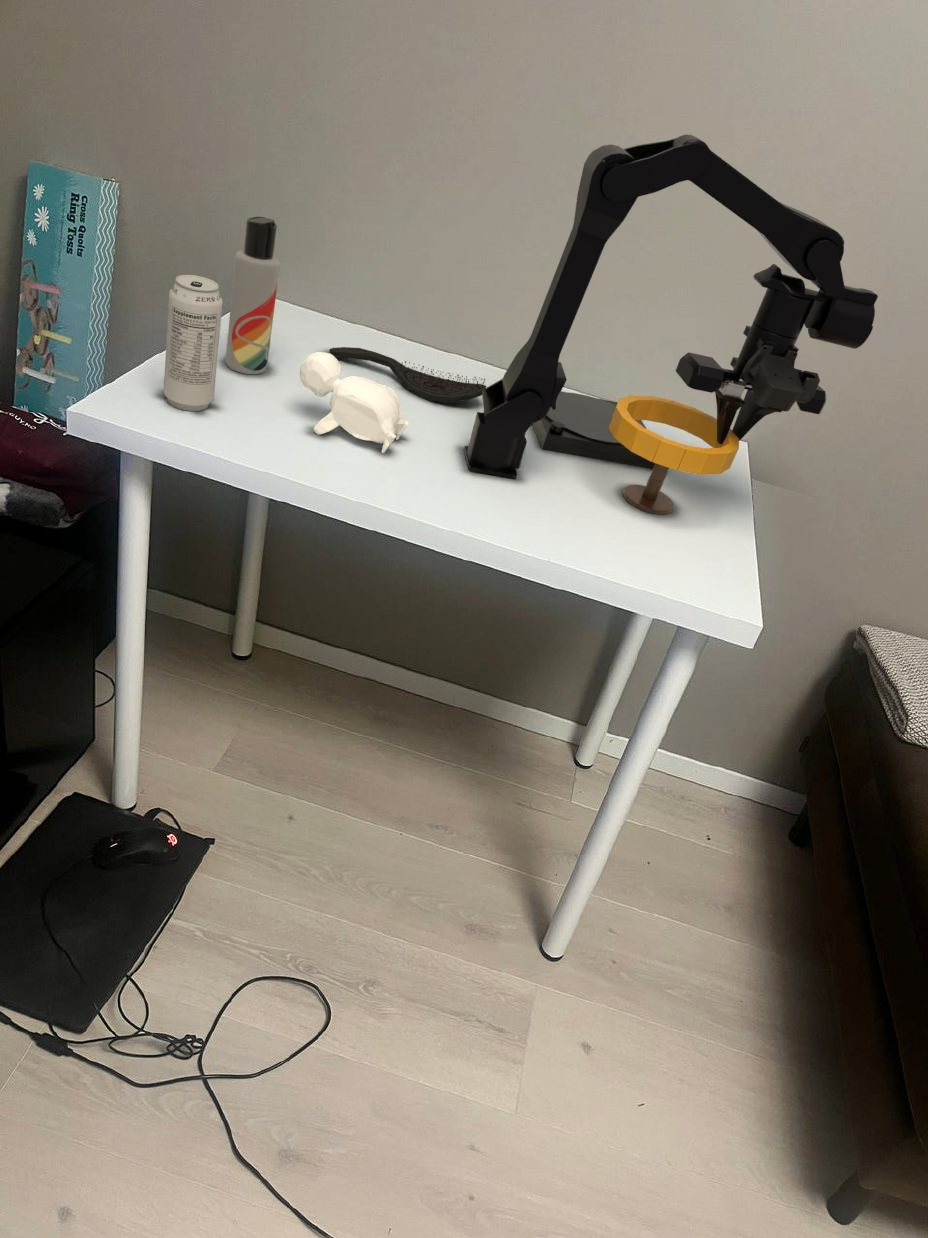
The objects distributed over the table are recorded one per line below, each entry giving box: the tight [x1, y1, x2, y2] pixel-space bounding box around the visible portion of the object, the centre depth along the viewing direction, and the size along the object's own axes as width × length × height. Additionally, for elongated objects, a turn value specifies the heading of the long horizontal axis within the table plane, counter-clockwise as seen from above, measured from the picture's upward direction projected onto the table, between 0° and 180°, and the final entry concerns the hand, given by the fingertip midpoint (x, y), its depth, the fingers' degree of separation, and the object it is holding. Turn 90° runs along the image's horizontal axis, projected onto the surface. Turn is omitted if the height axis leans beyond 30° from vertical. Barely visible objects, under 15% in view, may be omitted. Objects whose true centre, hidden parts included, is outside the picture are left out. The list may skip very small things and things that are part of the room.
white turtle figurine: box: [299, 351, 410, 454], centre depth 117 cm, size 9×8×15 cm
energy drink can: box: [163, 274, 224, 412], centre depth 110 cm, size 6×6×15 cm
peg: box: [622, 463, 675, 516], centre depth 122 cm, size 7×7×6 cm
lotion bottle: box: [225, 216, 281, 375], centre depth 122 cm, size 6×6×20 cm
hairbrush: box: [328, 346, 487, 404], centre depth 137 cm, size 8×4×25 cm
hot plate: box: [531, 390, 655, 469], centre depth 138 cm, size 18×18×3 cm
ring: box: [609, 394, 740, 476], centre depth 118 cm, size 16×16×3 cm
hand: (725, 444), depth 120 cm, fingers closed on ring
